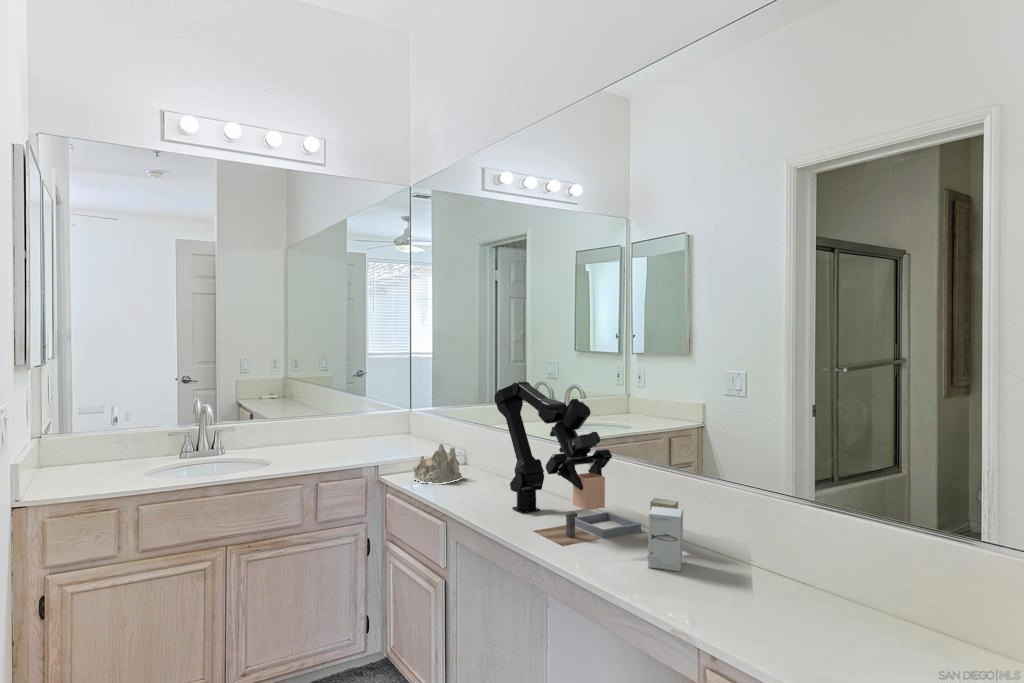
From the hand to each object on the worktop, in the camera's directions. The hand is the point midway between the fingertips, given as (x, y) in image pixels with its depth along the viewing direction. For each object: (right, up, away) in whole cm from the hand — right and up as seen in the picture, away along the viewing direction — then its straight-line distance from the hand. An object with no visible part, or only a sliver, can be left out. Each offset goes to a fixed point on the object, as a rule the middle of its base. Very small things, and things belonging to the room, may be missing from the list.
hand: (592, 488), depth 162 cm
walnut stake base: (-7, -13, -1) cm, 15 cm away
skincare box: (+17, -14, -8) cm, 23 cm away
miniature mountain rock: (-49, -14, +70) cm, 86 cm away
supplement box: (+15, -14, -19) cm, 28 cm away
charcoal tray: (+4, -13, +5) cm, 15 cm away
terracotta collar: (-1, -5, +1) cm, 5 cm away
